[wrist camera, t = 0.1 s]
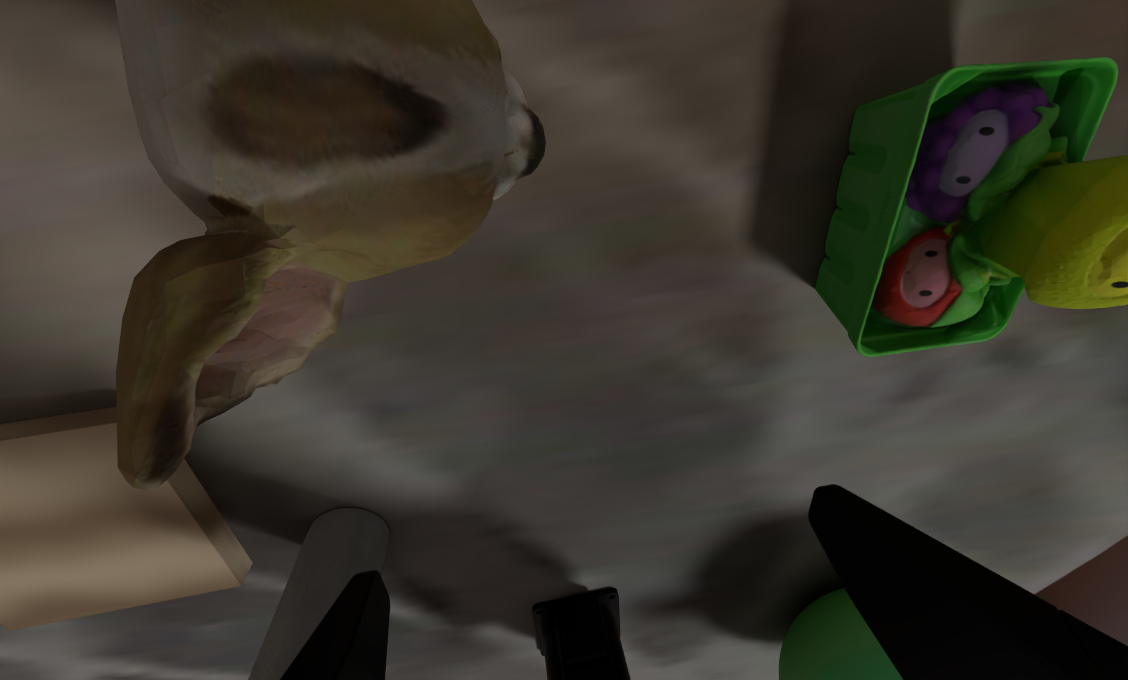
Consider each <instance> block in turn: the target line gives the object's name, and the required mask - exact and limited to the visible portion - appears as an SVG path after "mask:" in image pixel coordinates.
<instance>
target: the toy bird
mask: <svg viewBox="0 0 1128 680" xmlns="http://www.w3.org/2000/svg"><path fill="white" fill-rule="evenodd" d="M779 680H903V679H902V677H901V676H900V674H899V673H898V671H897V670H896V668H895V667H894V665H893V664H892V662H891V660H890V659H889V657H888V656H887V654H886V653H885V651H884V650H883V648H882V647H881V645H880V644H879V642H878V641H877V639H876V637H875V636H874V634H873V633H872V631H871V630H870V628H869V627H868V625H867V624H866V622H865V621H864V619H863V618H862V616H861V614H860V613H859V611H858V610H857V608H856V607H855V605H854V604H853V602H852V600H851V599H850V597H849V595H848V594H847V592H846V590H845V588H842V589H838V590H836V591H833V592H830V593H828V594H826V595H824V596H822V597H820V598H818V599H817V600H815V601H814V602H812V603H811V604H810V605H808V606H807V607H806V608H805V609H804V610H803V611H802V612H801V613H800V614H799V615H798V616H797V617H796V619H795V620H794V621H793V623H792V624H791V626H790V628H789V630H788V631H787V634H786V636H785V638H784V641H783V644H782V648H781V652H780V658H779Z"/></svg>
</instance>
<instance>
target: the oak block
mask: <svg viewBox="0 0 1128 680" xmlns="http://www.w3.org/2000/svg"><path fill="white" fill-rule="evenodd" d="M251 565H252V561H251V560H250V558H249V557H248V555H247V554H246V552H245V551H244V549H243V548H242V546H241V545H240V543H239V542H238V540H237V538H236V537H235V535H234V534H233V532H232V531H231V529H230V528H229V526H228V525H227V523H226V522H225V520H224V519H223V517H222V516H221V514H220V513H219V511H218V509H217V508H216V506H215V505H214V503H213V502H212V500H211V499H210V497H209V496H208V494H207V493H206V491H205V490H204V488H203V487H202V485H201V484H200V482H199V481H198V479H197V477H196V476H195V474H194V473H193V471H192V470H191V468H190V467H189V465H188V464H187V462H186V461H185V459H183V461H182V462H181V464H180V465H179V467H178V468H177V470H176V471H175V472H174V473H173V474H172V475H171V476H170V477H169V478H168V479H167V480H166V481H165V482H164V483H163V484H161V485H160V486H159V487H158V488H156V489H155V490H154V491H147V490H142V489H137V488H133V487H132V486H131V485H130V484H129V483H128V482H127V481H126V480H125V478H124V477H123V475H122V474H121V472H120V470H119V469H118V459H117V407H110V408H104V409H97V410H90V411H84V412H77V413H71V414H64V415H57V416H51V417H44V418H38V419H31V420H24V421H18V422H11V423H5V424H0V624H2V625H3V626H4V627H5V628H6V629H8V630H9V631H12V630H17V629H22V628H27V627H32V626H37V625H42V624H48V623H53V622H58V621H63V620H68V619H73V618H78V617H84V616H89V615H94V614H99V613H104V612H109V611H115V610H120V609H125V608H130V607H135V606H140V605H145V604H151V603H156V602H161V601H166V600H171V599H176V598H182V597H187V596H192V595H197V594H202V593H207V592H212V591H218V590H223V589H228V588H233V587H238V586H242V584H243V582H244V580H245V578H246V576H247V574H248V572H249V569H250V567H251Z"/></svg>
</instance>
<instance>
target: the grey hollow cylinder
mask: <svg viewBox="0 0 1128 680" xmlns="http://www.w3.org/2000/svg"><path fill="white" fill-rule="evenodd" d="M388 540H389V529H388V527H387V525H386V523H385V522H384V521H383V520H382V519H381V518H380V517H379V516H377V515H376V514H374V513H372V512H369V511H366V510H363V509H358V508H340V509H335V510H331V511H328V512H326V513H324V514H322V515H321V516H319V517H318V518H317V519H315V521H314V522H313V523H312V524H311V526H310V529H309V531H308V533H307V535H306V537H305V540H304V542H303V545H302V547H301V550H300V552H299V555H298V557H297V560H296V562H295V565H294V567H293V569H292V572H291V574H290V577H289V579H288V582H287V584H286V587H285V589H284V592H283V594H282V597H281V599H280V602H279V604H278V607H277V609H276V612H275V614H274V617H273V619H272V622H271V624H270V627H269V629H268V632H267V634H266V637H265V639H264V641H263V644H262V646H261V649H260V651H259V654H258V656H257V659H256V661H255V664H254V666H253V669H252V671H251V674H250V676H249V679H248V680H279V679H280V678H281V676H282V675H283V674H284V672H285V671H286V669H287V668H288V667H289V665H290V664H291V662H292V661H293V660H294V658H295V657H296V655H297V654H298V653H299V651H300V650H301V648H302V647H303V645H304V644H305V643H306V641H307V640H308V638H309V637H310V636H311V634H312V633H313V631H314V630H315V629H316V627H317V626H318V624H319V623H320V621H321V620H322V619H323V617H324V616H325V614H326V613H327V612H328V610H329V609H330V607H331V606H332V605H333V603H334V602H335V600H336V599H337V597H338V596H339V595H340V593H341V592H342V590H343V589H344V588H345V586H346V585H347V583H348V582H349V581H350V579H351V578H352V577H353V576H354V575H355V574H357V573H360V572H365V571H371V570H377V571H378V572H379V573H380V575H382V570H383V566H384V561H385V556H386V551H387V547H388Z"/></svg>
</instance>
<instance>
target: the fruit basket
mask: <svg viewBox="0 0 1128 680" xmlns="http://www.w3.org/2000/svg"><path fill="white" fill-rule="evenodd" d="M1117 79H1118V67H1117V64H1116V63H1115V62H1114V61H1113V60H1112V59H1110V58H1107V57H1096V58H1086V59H1066V60H1051V61H1035V62H1018V63H1000V64H975V65H962V66H957V67H954V68H952V69H949V70H947V71H944V72H942V73H939V74H937V75H935V76H933V77H931V78H930V79H928V80H927V81H926V82H925V83H923V84H920V85H917V86H914V87H911V88H908V89H905V90H902V91H899V92H897V93H894V94H891V95H888V96H885V97H883V98H880V99H877V100H874V101H871V102H868V103H865V104H862V105H860V106H859V107H858V108H857V109H856V111H855V114H854V119H853V124H852V128H851V133H850V137H849V151H850V155H848V156H847V159H846V161H845V163H844V165H843V168H842V172H841V177H840V181H839V185H838V190H837V194H836V200H837V202H836V205H837V206H838V208H837V209H836V210H835V212H834V214H833V216H832V217H831V221H830V226H829V230H828V234H827V239H826V243H825V254H826V257H825V258H824V260H823V262H822V264H821V266H820V270H819V274H818V278H817V282H816V291H817V292H818V294H819V295H820V296H821V297H822V299H823V300H824V301H825V303H826V304H827V305H828V307H829V308H830V309H831V311H832V312H833V313H834V314H835V316H836V317H837V318H838V320H839V321H840V322H841V324H842V325H843V326H844V328H845V329H846V330H847V331H848V336H849V338H850V340H851V342H852V343H853V345H854V347H855V348H856V350H857V351H858V353H859V354H861V355H862V356H866V357H875V356H882V355H888V354H896V353H902V352H909V351H917V350H922V349H929V348H937V347H945V346H954V345H962V344H970V343H976V342H983V341H987V340H989V339H991V338H993V337H995V336H996V335H997V334H999V333H1000V332H1001V331H1002V330H1003V329H1004V328H1005V326H1006V325H1007V324H1008V321H1009V319H1010V318H1011V315H1012V313H1013V311H1014V309H1015V306H1016V304H1017V302H1018V300H1019V298H1020V296H1021V294H1022V292H1023V290H1024V288H1025V289H1026V292H1027V294H1028V298H1029V300H1031V301H1033V302H1036V303H1038V304H1042V305H1045V306H1051V307H1059V308H1070V309H1094V308H1104V307H1112V306H1118V305H1126V304H1128V156H1119V157H1110V158H1104V159H1097V160H1091V161H1084V162H1083V160H1084V158H1085V155H1086V153H1087V151H1088V148H1089V146H1090V144H1091V141H1092V139H1093V137H1094V135H1095V133H1096V130H1097V128H1098V126H1099V123H1100V121H1101V118H1102V116H1103V114H1104V112H1105V109H1106V107H1107V104H1108V102H1109V100H1110V98H1111V95H1112V93H1113V90H1114V88H1115V85H1116V82H1117Z"/></svg>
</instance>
